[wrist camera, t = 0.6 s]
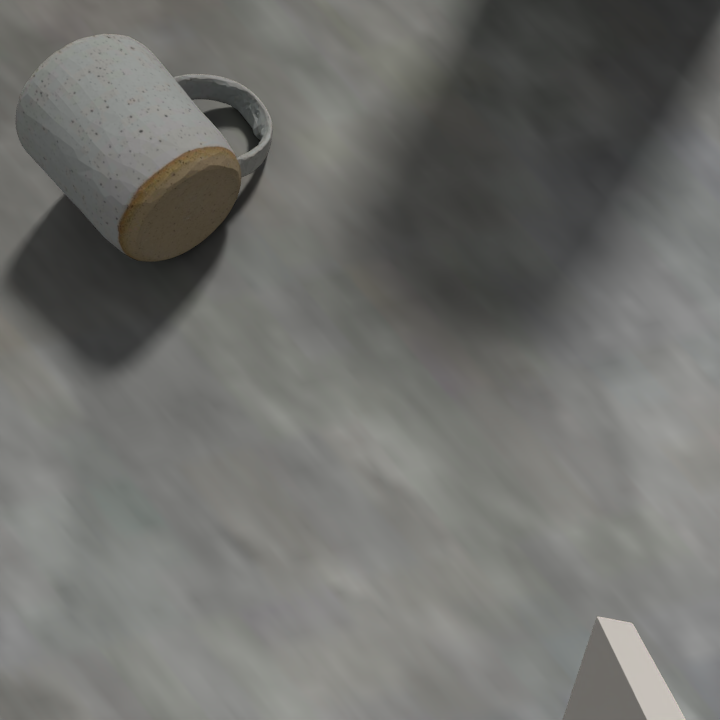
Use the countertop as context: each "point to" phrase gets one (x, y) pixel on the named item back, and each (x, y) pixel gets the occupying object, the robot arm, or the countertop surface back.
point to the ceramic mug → (137, 143)
